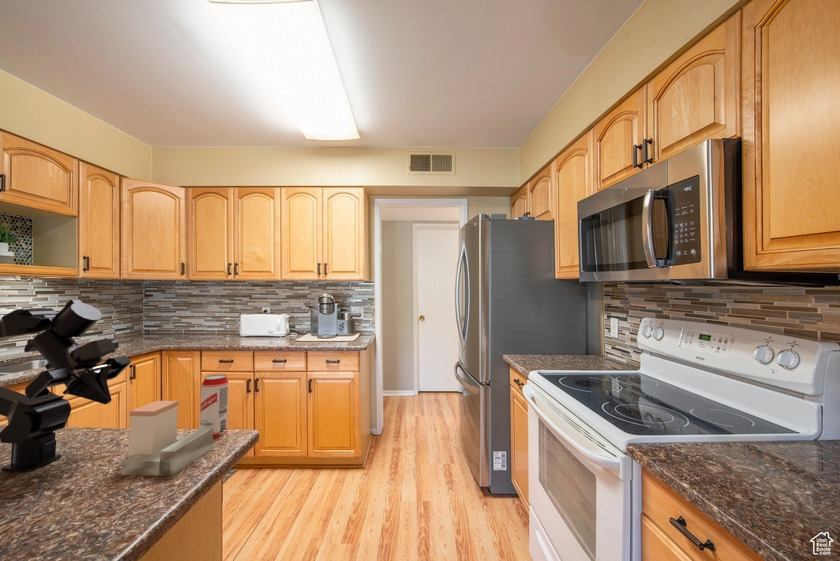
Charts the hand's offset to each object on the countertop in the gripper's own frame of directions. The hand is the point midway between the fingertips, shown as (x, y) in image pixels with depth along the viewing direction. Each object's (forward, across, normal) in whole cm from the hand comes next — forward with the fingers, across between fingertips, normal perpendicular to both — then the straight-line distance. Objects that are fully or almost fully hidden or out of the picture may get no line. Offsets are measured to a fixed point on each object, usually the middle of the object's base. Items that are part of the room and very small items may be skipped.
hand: (108, 402), depth 76 cm
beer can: (+20, +15, 0) cm, 25 cm away
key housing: (+19, 0, +1) cm, 19 cm away
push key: (+16, 0, +1) cm, 16 cm away
